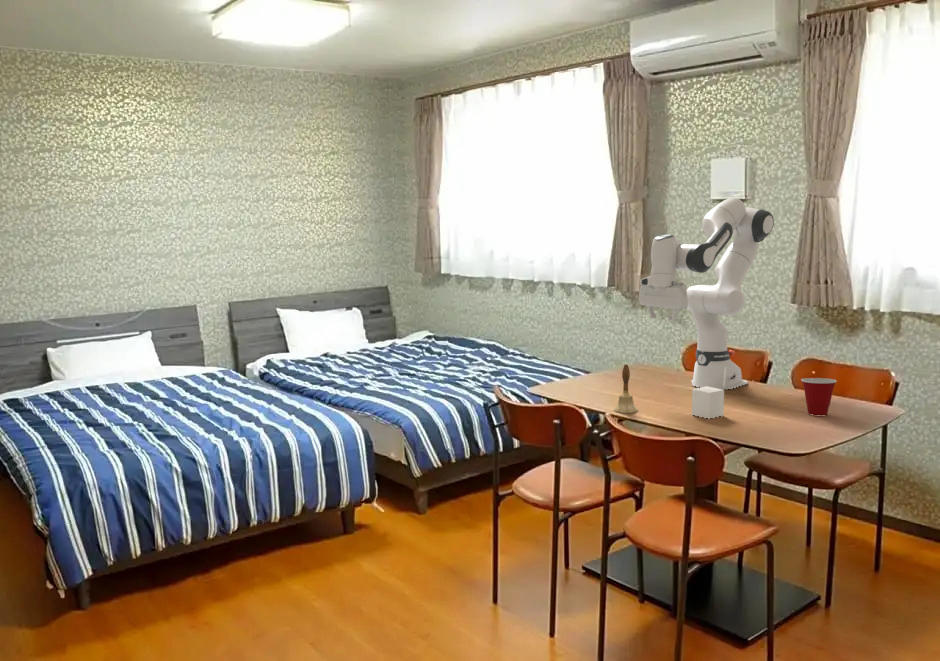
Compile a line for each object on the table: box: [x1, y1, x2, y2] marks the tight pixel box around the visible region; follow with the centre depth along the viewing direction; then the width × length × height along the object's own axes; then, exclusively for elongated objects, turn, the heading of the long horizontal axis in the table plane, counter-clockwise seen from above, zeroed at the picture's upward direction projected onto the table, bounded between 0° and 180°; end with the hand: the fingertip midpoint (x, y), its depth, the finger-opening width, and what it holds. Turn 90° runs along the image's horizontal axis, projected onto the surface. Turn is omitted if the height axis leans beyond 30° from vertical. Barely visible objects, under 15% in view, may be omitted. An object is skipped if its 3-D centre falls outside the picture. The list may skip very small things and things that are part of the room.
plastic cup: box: [800, 377, 838, 416], centre depth 270 cm, size 11×11×12 cm
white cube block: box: [691, 386, 725, 420], centre depth 271 cm, size 7×7×9 cm
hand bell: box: [613, 363, 639, 414], centre depth 280 cm, size 8×8×16 cm
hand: (662, 319), depth 293 cm, fingers open, 8 cm apart
